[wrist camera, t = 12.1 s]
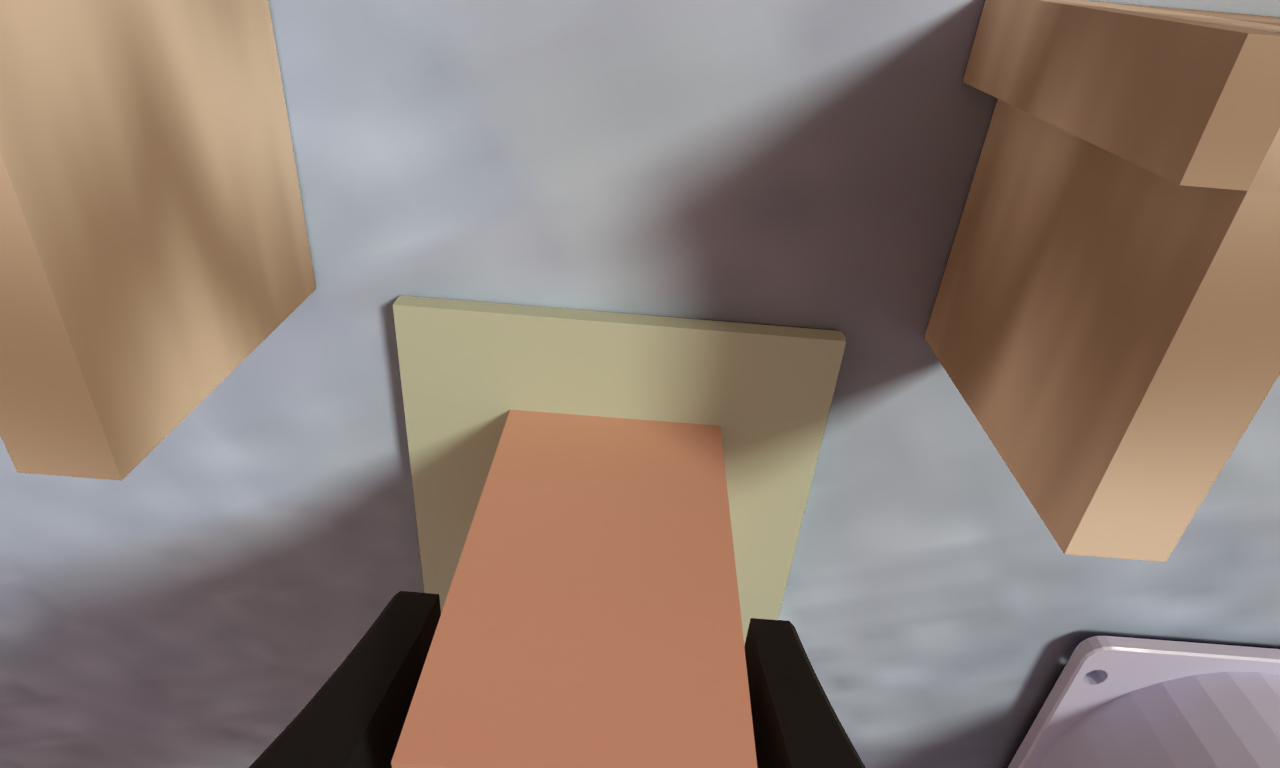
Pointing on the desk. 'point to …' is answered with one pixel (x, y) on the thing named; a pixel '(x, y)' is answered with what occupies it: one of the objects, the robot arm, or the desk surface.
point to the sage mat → (615, 411)
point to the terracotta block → (591, 608)
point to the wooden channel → (958, 327)
